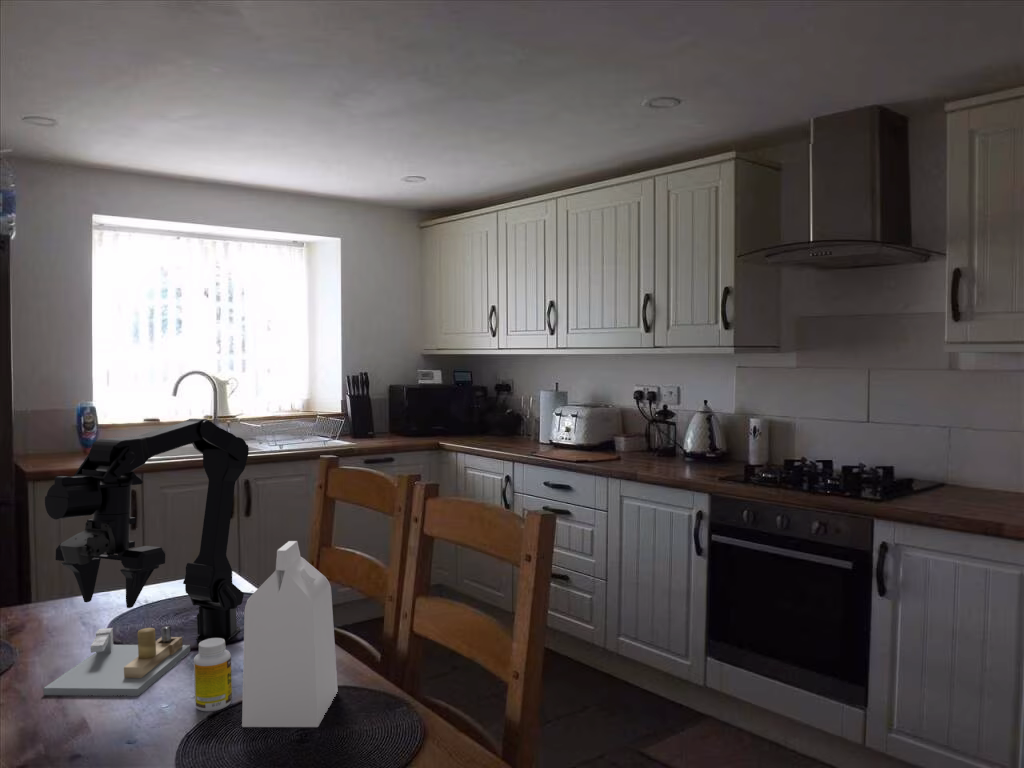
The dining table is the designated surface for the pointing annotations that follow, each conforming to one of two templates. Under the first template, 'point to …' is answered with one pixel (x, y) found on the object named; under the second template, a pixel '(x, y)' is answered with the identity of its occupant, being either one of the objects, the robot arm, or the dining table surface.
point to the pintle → (166, 634)
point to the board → (110, 674)
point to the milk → (289, 646)
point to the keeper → (103, 641)
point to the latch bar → (150, 653)
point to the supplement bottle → (212, 675)
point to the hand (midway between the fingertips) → (108, 604)
